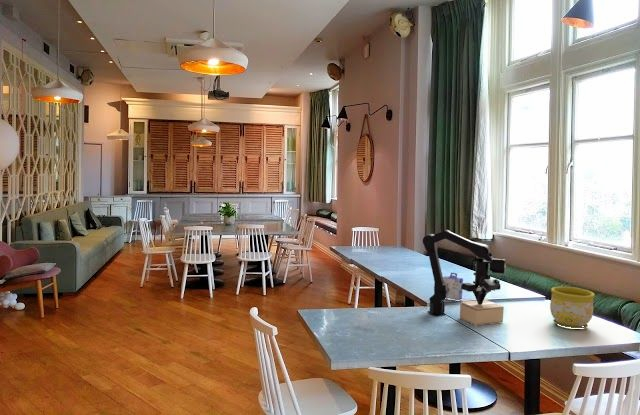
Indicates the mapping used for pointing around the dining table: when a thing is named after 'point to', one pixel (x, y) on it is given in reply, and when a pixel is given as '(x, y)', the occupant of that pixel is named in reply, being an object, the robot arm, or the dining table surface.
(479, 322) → the carton
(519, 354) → the dining table surface
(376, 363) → the dining table surface
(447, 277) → the ink cartridge box
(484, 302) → the carton lid
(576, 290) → the flowerpot
